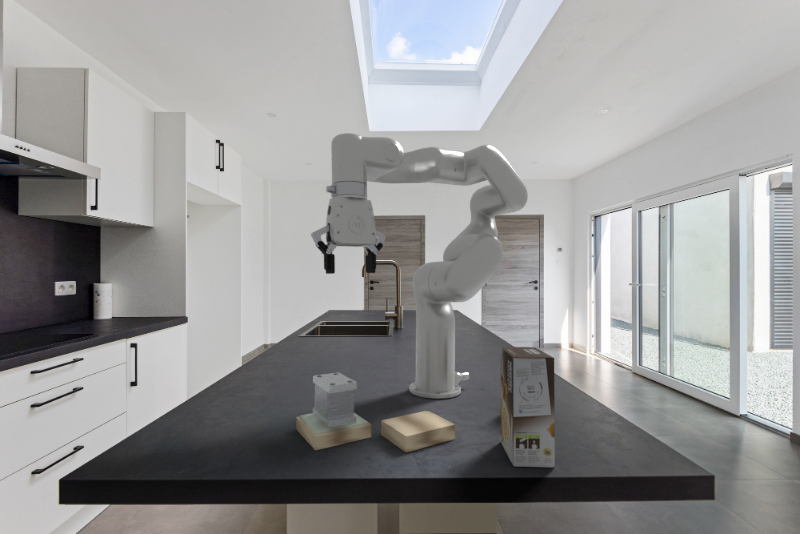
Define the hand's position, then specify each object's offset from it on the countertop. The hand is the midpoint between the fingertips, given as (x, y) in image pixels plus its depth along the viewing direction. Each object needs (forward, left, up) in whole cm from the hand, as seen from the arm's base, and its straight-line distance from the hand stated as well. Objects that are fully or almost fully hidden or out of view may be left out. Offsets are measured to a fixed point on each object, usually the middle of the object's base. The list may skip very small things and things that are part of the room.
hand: (351, 273), depth 82 cm
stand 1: (+8, +11, -29) cm, 32 cm away
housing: (+8, +11, -26) cm, 29 cm away
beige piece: (-4, +20, -29) cm, 35 cm away
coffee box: (-15, +34, -29) cm, 47 cm away
